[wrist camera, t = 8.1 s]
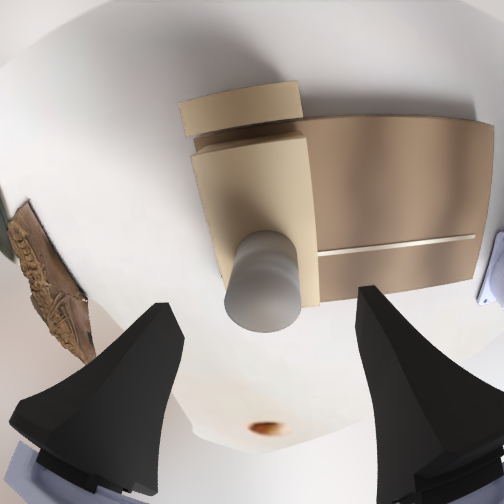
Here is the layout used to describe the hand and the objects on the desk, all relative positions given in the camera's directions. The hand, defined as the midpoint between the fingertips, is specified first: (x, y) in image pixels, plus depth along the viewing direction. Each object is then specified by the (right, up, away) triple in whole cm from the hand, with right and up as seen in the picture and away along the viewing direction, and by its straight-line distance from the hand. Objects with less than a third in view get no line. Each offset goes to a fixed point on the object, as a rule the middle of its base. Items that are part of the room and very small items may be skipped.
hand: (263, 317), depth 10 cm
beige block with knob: (0, +6, +6) cm, 9 cm away
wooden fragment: (-22, -4, +16) cm, 27 cm away
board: (+7, +5, +7) cm, 11 cm away
